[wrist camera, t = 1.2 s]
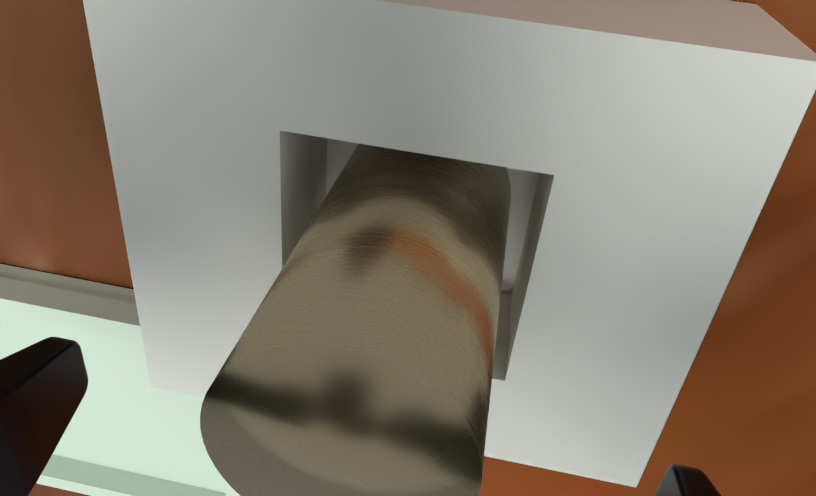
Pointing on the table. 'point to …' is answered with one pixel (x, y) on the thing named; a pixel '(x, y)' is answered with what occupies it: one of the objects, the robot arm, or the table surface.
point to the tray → (109, 393)
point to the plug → (372, 339)
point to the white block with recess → (470, 141)
